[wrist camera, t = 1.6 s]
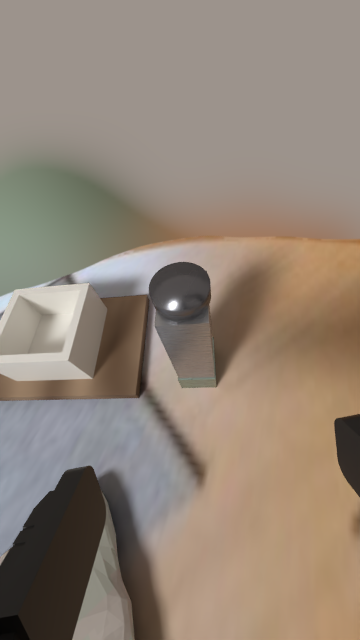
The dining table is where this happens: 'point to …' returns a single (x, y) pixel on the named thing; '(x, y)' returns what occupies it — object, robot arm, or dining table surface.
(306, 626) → the dining table surface
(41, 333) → the holder
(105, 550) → the stone
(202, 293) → the capped metal post
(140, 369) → the board
